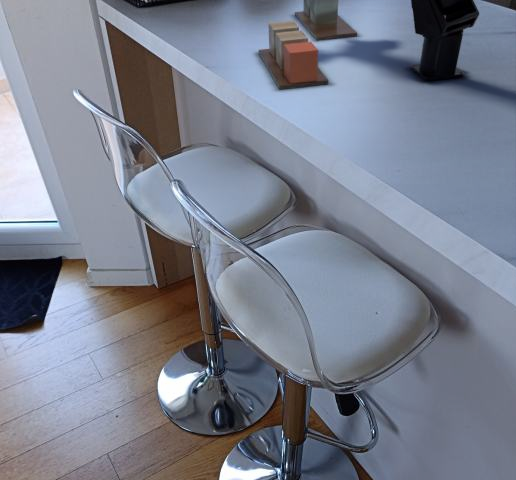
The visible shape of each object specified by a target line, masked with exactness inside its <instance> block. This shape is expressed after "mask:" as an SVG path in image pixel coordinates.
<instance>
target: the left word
mask: <svg viewBox="0 0 516 480" xmlns="http://www.w3.org/2000/svg"><path fill="white" fill-rule="evenodd" d="M267 25H268V48H261V49H258V55H259V57H260V58H261V60H262V62H263V63H264V65H265V67H266V68H267V70H268V72H269V74H270V75H271V77H272V80H273V81H274V82H275V84H276V87H278V89H279V90H287V89H296V88H306V87H313V86H322V85H324V86H325V85H329V80H328V78H327V77H326V75H325V74H324V73H323V71H322V69H320V68H319V67H318V74H317V81H310V82H301V83H292V84H290V83H289V81H288V80H287V78H286V77H285V75H284V44H293V43H303V42H309V37H308V36H307V35H306V34H305V32H304V31H303V30H300V26H299V25H298V24H297V23H296V22H295V21H294V20H292V19H291V20H283V21H273V22H268V24H267Z"/></svg>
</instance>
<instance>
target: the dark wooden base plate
mask: <svg viewBox="0 0 516 480" xmlns="http://www.w3.org/2000/svg"><path fill="white" fill-rule="evenodd" d="M302 9H303V10H302V11H301V10H300V11H295V12H294V16H295V17H296V19H297V20H298V22H300V23H301V24H302V25H303V27H305V29H306V30H307V31H308V32H309V33H310V34H311V36H312V37H313V38H314V39H315V40H316V41H323V40H333V39H342V38H353V37H358V31H356V30H355V29H354V28H353V27H352V26H350V25H349V24H348V23H347V22H346V21H345V20H344V19H342V17H340V16H339V15H338V13H339V0H303V8H302Z"/></svg>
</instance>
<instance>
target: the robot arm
mask: <svg viewBox="0 0 516 480" xmlns="http://www.w3.org/2000/svg"><path fill="white" fill-rule="evenodd" d="M410 5H411V9H412V18H413V25H414V33H415V34H416V35H420V36H422V38H423V43H422V49H421V55H420V61H419V63H417V64H415V63H414V64H411V66H410V69H411V70H412V71H413V72H414V73H416V74H417V75H418V76H419V77H420V78H421V79H423V81H436V80H447V79H454V78H455V79H456V78H462V77H464V76H465V72H464V71H462V70H461V69H460V68H459V67H457V66H458V61H459V56H460V52H461V47H462V41H463V36H464V30H466V29H468V28H473V27H474V26H475V24H476V22H477V20H478V18H479V16H480V12H479V11H480V10H479V9H478V7H477V5H476V3H475V1H474V0H410ZM445 15H446V18H445V17H444V16H445Z"/></svg>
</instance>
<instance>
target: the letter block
mask: <svg viewBox="0 0 516 480" xmlns="http://www.w3.org/2000/svg"><path fill="white" fill-rule="evenodd" d="M318 68H319V49H318V48H317V47H316V45H315V44H314V43H313V42H312V41H308V42H303V43H293V44H284V75H285V77H286V78H287V80H288V81H289V83H290V84H292V83H301V82H310V81H317V74H318Z"/></svg>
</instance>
